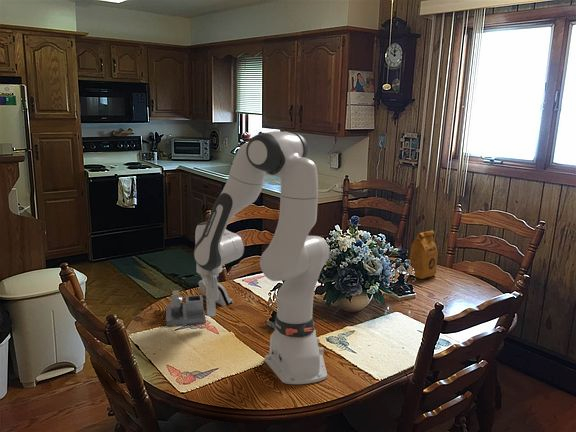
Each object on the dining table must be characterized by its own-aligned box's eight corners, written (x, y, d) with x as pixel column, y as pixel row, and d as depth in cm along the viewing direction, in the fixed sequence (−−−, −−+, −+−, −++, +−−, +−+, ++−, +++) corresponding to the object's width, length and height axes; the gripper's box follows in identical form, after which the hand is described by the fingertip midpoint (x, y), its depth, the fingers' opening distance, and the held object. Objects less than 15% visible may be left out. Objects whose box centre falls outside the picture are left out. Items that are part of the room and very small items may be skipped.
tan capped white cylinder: (218, 316, 172) (217, 288, 170) (205, 317, 171) (204, 289, 169) (216, 311, 177) (215, 284, 174) (204, 312, 176) (203, 285, 173)
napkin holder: (234, 303, 197) (227, 283, 193) (225, 310, 195) (217, 289, 190) (211, 291, 209) (204, 272, 205) (202, 297, 207) (195, 277, 202)
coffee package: (439, 276, 233) (443, 232, 228) (421, 281, 226) (425, 235, 221) (423, 270, 241) (426, 227, 236) (405, 275, 234) (409, 230, 229)
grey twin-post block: (205, 322, 179) (205, 302, 177) (166, 326, 176) (165, 305, 174) (202, 305, 195) (201, 286, 193) (165, 307, 191) (165, 288, 190)
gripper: (222, 274, 161) (223, 314, 164) (215, 257, 181) (216, 293, 183) (202, 276, 160) (204, 316, 163) (197, 259, 179) (199, 294, 182)
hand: (210, 304), depth 173 cm, fingers closed on tan capped white cylinder, 4 cm apart
